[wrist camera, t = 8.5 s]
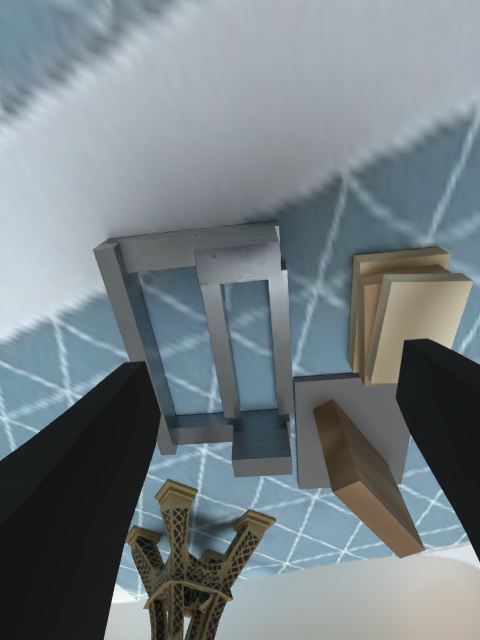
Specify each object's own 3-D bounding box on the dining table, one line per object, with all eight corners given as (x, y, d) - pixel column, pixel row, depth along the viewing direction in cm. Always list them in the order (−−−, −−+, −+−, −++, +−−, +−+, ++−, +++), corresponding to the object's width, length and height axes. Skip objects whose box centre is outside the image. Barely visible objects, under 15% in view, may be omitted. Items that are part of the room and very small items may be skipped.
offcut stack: (438, 247, 17) (477, 268, 14) (418, 357, 21) (447, 393, 18) (351, 255, 18) (372, 278, 15) (345, 362, 21) (362, 399, 18)
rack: (282, 219, 17) (291, 240, 13) (292, 424, 24) (300, 473, 20) (108, 238, 18) (73, 263, 14) (167, 432, 24) (153, 481, 21)
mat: (418, 368, 21) (421, 373, 21) (398, 478, 26) (400, 484, 26) (293, 377, 22) (294, 382, 21) (298, 483, 27) (299, 489, 26)
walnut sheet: (333, 398, 22) (359, 480, 17) (387, 463, 25) (425, 550, 20) (312, 409, 22) (332, 492, 17) (368, 471, 25) (399, 558, 20)
